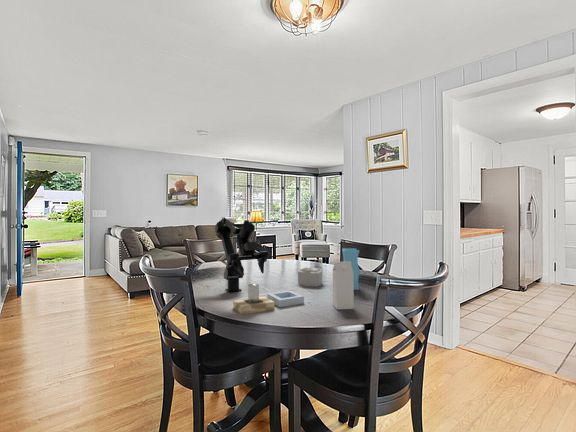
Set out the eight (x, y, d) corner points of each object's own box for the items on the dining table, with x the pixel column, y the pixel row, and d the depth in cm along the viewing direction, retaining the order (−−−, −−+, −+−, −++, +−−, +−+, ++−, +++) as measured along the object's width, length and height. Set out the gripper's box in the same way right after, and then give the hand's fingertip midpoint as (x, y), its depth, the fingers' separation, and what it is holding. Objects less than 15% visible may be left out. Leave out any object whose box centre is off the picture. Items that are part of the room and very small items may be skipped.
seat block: (267, 300, 148) (267, 293, 148) (290, 296, 154) (290, 290, 154) (279, 307, 138) (279, 300, 138) (304, 303, 144) (304, 296, 144)
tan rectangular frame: (233, 307, 138) (233, 300, 138) (263, 302, 144) (263, 296, 144) (242, 314, 129) (242, 307, 128) (274, 309, 135) (274, 301, 135)
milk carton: (332, 304, 141) (332, 260, 140) (349, 304, 141) (348, 260, 141) (336, 310, 134) (336, 263, 133) (353, 309, 134) (353, 262, 134)
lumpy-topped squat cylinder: (318, 287, 173) (318, 270, 173) (295, 285, 178) (294, 269, 178) (323, 282, 183) (323, 267, 183) (301, 281, 188) (301, 265, 187)
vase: (359, 289, 166) (359, 250, 166) (343, 289, 166) (343, 250, 166) (356, 286, 174) (356, 248, 174) (341, 286, 174) (341, 248, 174)
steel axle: (246, 308, 137) (246, 284, 137) (256, 306, 139) (256, 282, 139) (250, 310, 134) (250, 286, 133) (260, 309, 136) (260, 284, 135)
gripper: (229, 235, 142) (237, 266, 134) (268, 233, 151) (278, 262, 143) (223, 250, 150) (231, 280, 141) (260, 247, 159) (270, 275, 150)
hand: (253, 274), depth 144 cm, fingers open, 9 cm apart
